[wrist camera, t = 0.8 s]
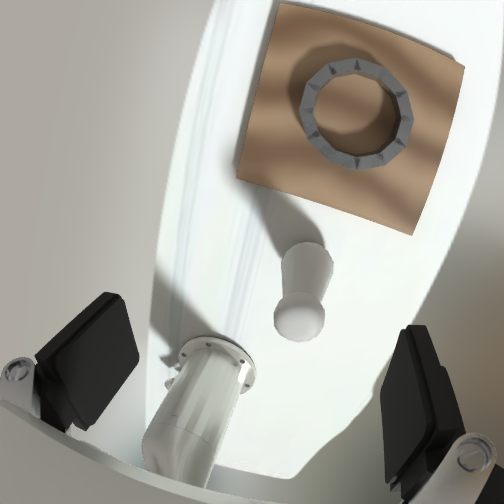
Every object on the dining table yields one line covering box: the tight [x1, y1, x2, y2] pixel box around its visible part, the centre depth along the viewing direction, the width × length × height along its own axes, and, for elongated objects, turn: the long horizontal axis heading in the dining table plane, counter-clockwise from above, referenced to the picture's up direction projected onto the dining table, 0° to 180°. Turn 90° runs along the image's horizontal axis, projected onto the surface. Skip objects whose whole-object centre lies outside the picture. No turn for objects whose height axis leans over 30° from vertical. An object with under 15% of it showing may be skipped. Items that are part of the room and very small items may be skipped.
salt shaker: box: [274, 242, 334, 342], centre depth 30 cm, size 6×6×13 cm
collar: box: [299, 58, 414, 171], centre depth 26 cm, size 10×10×2 cm
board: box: [236, 3, 465, 236], centre depth 27 cm, size 20×20×2 cm
